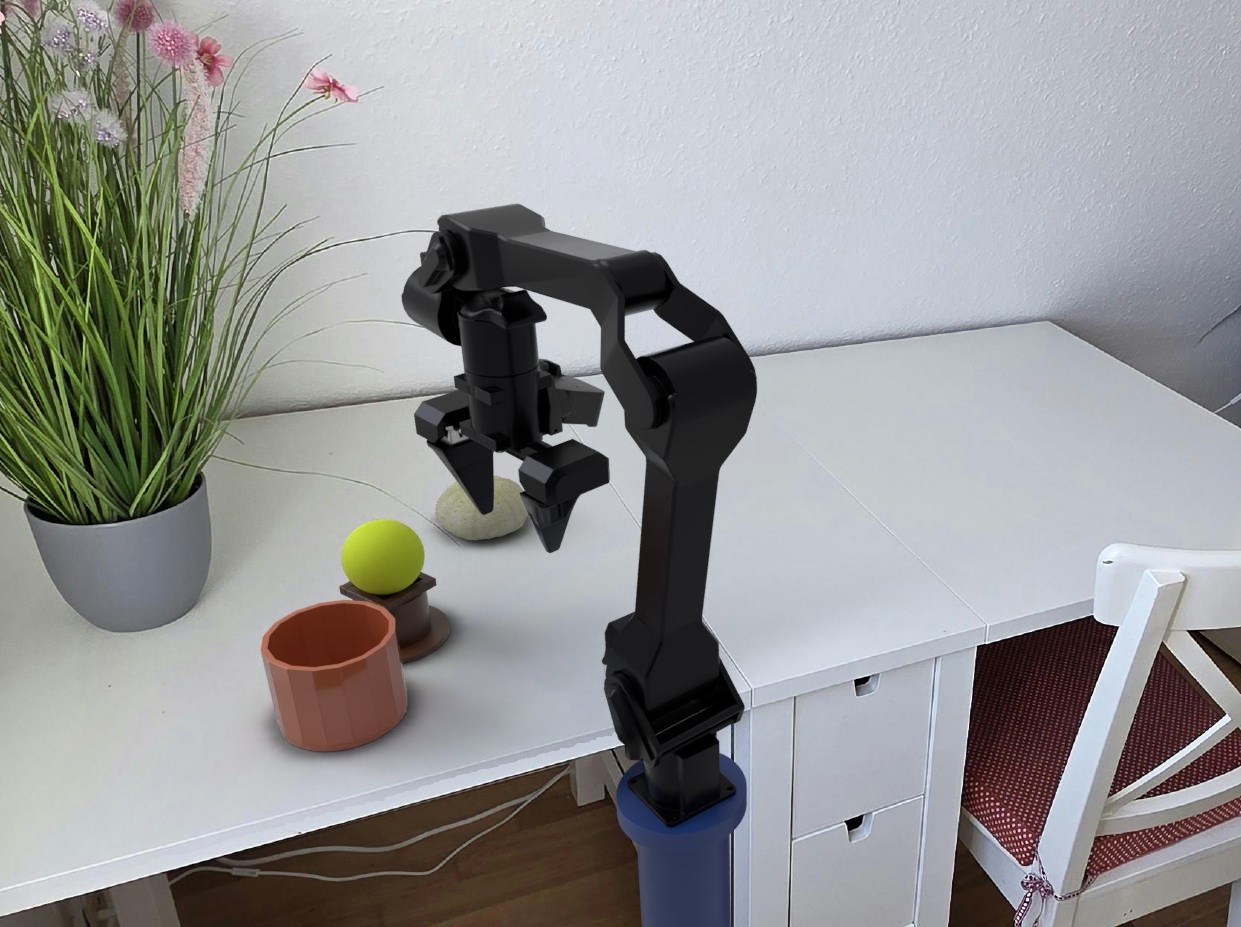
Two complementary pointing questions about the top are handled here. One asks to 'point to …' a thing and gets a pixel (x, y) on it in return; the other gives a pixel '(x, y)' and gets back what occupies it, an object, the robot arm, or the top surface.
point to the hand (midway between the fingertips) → (519, 531)
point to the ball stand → (410, 616)
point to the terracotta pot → (335, 674)
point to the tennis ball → (383, 556)
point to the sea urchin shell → (472, 525)
